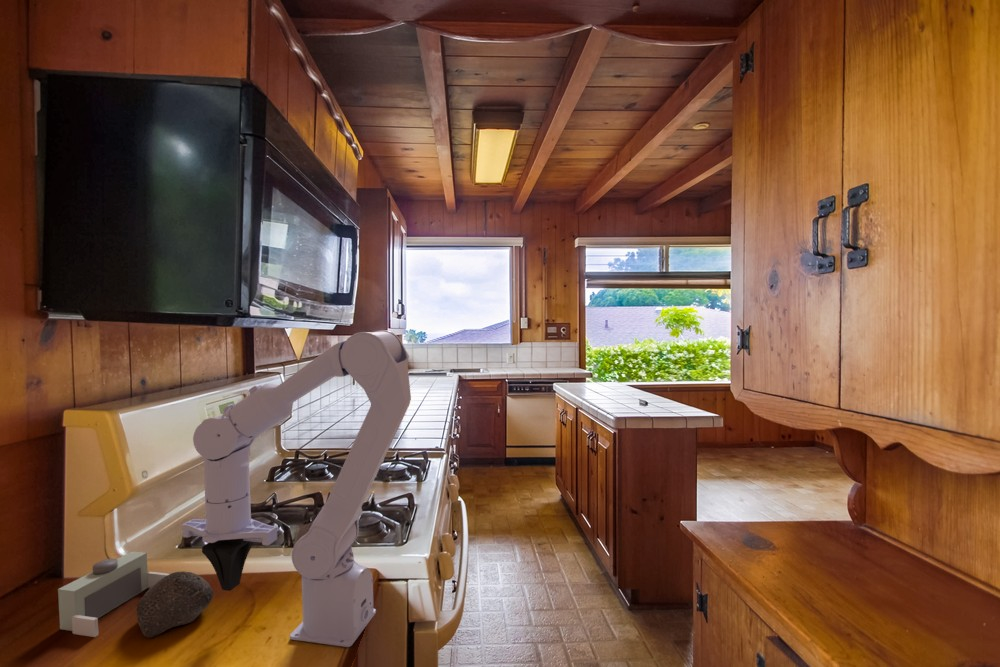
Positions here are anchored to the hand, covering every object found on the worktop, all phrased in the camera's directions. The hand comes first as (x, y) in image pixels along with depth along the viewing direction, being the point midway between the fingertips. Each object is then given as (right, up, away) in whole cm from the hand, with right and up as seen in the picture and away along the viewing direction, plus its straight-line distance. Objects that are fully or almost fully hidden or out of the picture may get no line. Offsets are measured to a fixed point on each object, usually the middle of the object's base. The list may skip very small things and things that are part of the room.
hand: (231, 586), depth 69 cm
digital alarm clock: (-20, -6, +4) cm, 22 cm away
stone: (-10, -6, +2) cm, 11 cm away
